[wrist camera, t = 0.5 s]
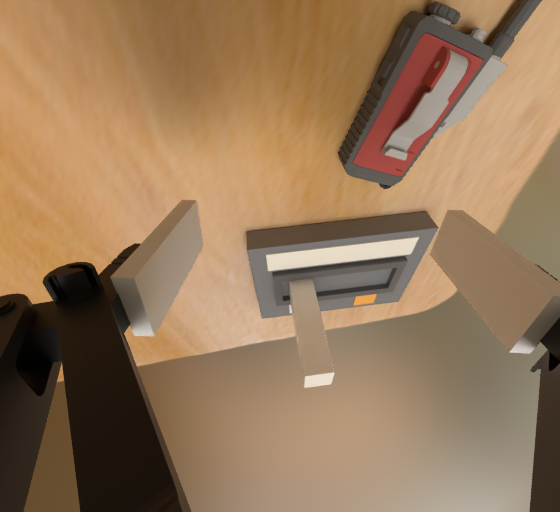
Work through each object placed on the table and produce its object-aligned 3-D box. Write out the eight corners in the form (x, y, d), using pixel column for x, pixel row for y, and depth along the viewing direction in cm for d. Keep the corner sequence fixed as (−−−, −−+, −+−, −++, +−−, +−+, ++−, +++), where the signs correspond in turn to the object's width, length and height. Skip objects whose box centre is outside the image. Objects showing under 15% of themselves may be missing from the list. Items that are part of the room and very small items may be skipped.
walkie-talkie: (397, 185, 29) (604, -101, 16) (415, 210, 27) (688, -114, 13) (327, 167, 27) (499, -195, 13) (338, 192, 24) (575, -238, 10)
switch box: (246, 231, 32) (247, 255, 29) (426, 211, 32) (441, 232, 30) (260, 302, 44) (262, 323, 41) (391, 286, 44) (400, 305, 42)
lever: (288, 279, 34) (304, 376, 26) (311, 276, 34) (334, 372, 26) (289, 296, 37) (304, 387, 29) (310, 293, 37) (331, 384, 29)
